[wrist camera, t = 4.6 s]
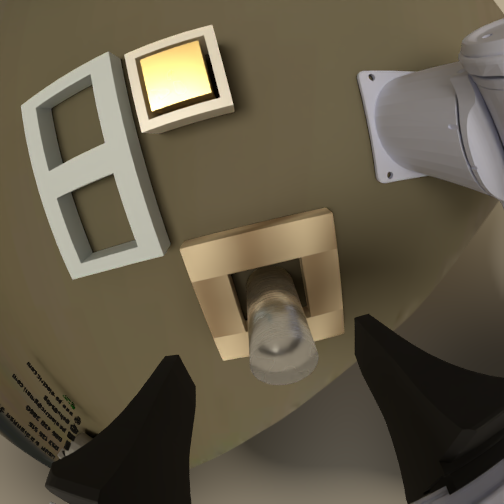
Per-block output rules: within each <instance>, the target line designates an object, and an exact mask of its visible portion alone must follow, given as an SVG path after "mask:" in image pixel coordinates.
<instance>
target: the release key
mask: <svg viewBox="0 0 504 504" xmlns="http://www.w3.org/2000/svg"><path fill="white" fill-rule="evenodd" d="M140 62H141V67H142V71H143V76H144V80H145V85H146V89H147V93H148V98H149V102H150V106H151V110H152V112H155V113H159V114H162V115H164V114H167V113H170V112H173V111H176V110H179V109H182V108H185V107H189V106H192V105H195V104H199V103H202V102H206V101H210V100H213V99H216V97H215V93H214V90H213V86H212V82H211V78H210V74H209V70H208V66H207V62H206V59H205V55H204V53H203V51H202V48H201V46H200V43H199V41H194V42H191V43H187V44H184V45H181V46H178V47H174V48H171V49H168V50H166V51H163V52H160V53H157V54H154V55H152V56H149V57H146V58H144V59H141V60H140Z"/></svg>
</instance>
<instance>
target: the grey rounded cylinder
mask: <svg viewBox="0 0 504 504" xmlns="http://www.w3.org/2000/svg"><path fill="white" fill-rule="evenodd" d="M246 297H247V317H248V337H249V356H250V369H251V371H252V373H253V375H254V376H255V377H256V378H257V379H259V380H260V381H262V382H265V383H268V384H272V385H286V384H291V383H295V382H297V381H300V380H302V379H303V378H305V377H306V376H308V375H309V374H310V373H311V372H312V371H313V370H314V369H315V367H316V365H317V362H318V352H317V349H316V346H315V343H314V340H313V337H312V334H311V331H310V328H309V325H308V323H307V320H306V317H305V314H304V311H303V308H302V305H301V303H300V300H299V297H298V294H297V291H296V288H295V286H294V283H293V280H292V278H291V276H290V274H289V273H288V272H287V271H286V270H285V269H283V268H281V267H278V266H273V265H269V266H263V267H261V268H258V269H257V270H255V271H254V272H253V273H252V274H251V275H250V276H249V278H248V280H247V283H246Z"/></svg>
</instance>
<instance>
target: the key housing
mask: <svg viewBox="0 0 504 504" xmlns="http://www.w3.org/2000/svg"><path fill="white" fill-rule="evenodd" d="M194 41H199V43H200V46H201V48H202V51H203V53H204V55H207V54H209V56H210V60H211V64H212V67H213V71H214V75H215V79H216V83H217V87H218V91H219V94H220V98H217V99H213V100H210V101H206V102H202V103H199V104H195V105H192V106H189V107H185V108H182V109H179V110H176V111H173V112H170V113H167V114H164V115H162V114H159V113H155V112H152V110H151V106H150V102H149V98H148V93H147V89H146V85H145V80H144V76H143V71H142V67H141V62H140V60H141V59H144V58H146V57H149V56H152V55H154V54H157V53H160V52H163V51H166V50H168V49H171V48H174V47H178V46H181V45H184V44H187V43H191V42H194ZM124 55H125V61H126V66H127V71H128V76H129V80H130V85H131V90H132V94H133V99H134V103H135V107H136V112H137V116H138V120H139V124H140V128H141V132H142V133H154V134H161V133H163V132H166V131H169V130H172V129H175V128H179V127H182V126H185V125H188V124H192V123H195V122H198V121H202V120H205V119H209V118H213V117H216V116H220V115H224V114H228V113H232V112H235V111H234V105H233V101H232V97H231V93H230V90H229V86H228V82H227V78H226V74H225V70H224V67H223V63H222V59H221V55H220V52H219V48H218V44H217V41H216V37H215V33H214V30H213V26H212V25H209V26H205V27H202V28H198V29H194V30H191V31H187V32H184V33H181V34H177V35H174V36H171V37H168V38H165V39H162V40H160V41H157V42H154V43H151V44H149V45H146V46H143V47H141V48H138V49H136V50H134V51H131V52H129V53H127V54H124Z"/></svg>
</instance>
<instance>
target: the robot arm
mask: <svg viewBox="0 0 504 504" xmlns="http://www.w3.org/2000/svg"><path fill="white" fill-rule="evenodd" d="M458 59H459V61H458V62H454V63H449V64H445V65H440V66H436V67H432V68H428V69H425V70H421V71H417V72H411V71H361V72H359V73H358V74H357V80H358V84H359V88H360V92H361V96H362V101H363V105H364V110H365V114H366V119H367V124H368V129H369V135H370V140H371V146H372V152H373V159H374V166H375V173H376V178H377V180H378V181H379V182H381V183H389V182H394V181H400V180H406V179H411V178H417V177H423V176H432V177H436V178H439V179H442V180H446V181H449V182H452V183H455V184H458V185H461V186H464V187H467V188H470V189H473V190H476V191H479V192H482V193H484V194H487V195H490V196H493V197H495V198H496V199H498V200H499V201H500V202H501V203H502V205H503V208H504V18H503V19H500V20H497V21H494V22H492V23H489V24H487V25H485V26H483V27H481V28H479V29H477V30H475V31H473V32H472V33H470V34H469V35H467V36H466V37H465V38H464V39H463V41H462V45H461V51H460V53H459V56H458ZM369 75H371V76H372V78H373V80H372V81H371V80H370V79H369ZM388 172H390V174H391V175H390V177H389V178H388V177H387V173H388ZM355 356H356V359H357V362H358V364H359V367H360V369H361V372H362V375H363V377H364V379H365V381H366V383H367V385H368V387H369V388H370V390H371V392H372V394H373V396H374V398H375V400H376V402H377V404H378V406H379V408H380V410H381V412H382V414H383V416H384V419H385V421H386V424H387V427H388V430H389V432H390V435H391V438H392V441H393V445H394V448H395V452H396V455H397V459H398V462H399V466H400V470H401V474H402V479H403V484H404V489H405V495H406V500H407V503H408V504H504V378H501V377H494V376H489V375H485V374H481V373H477V372H473V371H470V370H466V369H464V368H460V367H458V366H455V365H452V364H450V363H448V362H445V361H443V360H441V359H439V358H437V357H434V356H432V355H430V354H428V353H426V352H425V351H423V350H421V349H420V348H418V347H416V346H414V345H413V344H411V343H410V342H408V341H407V340H405V339H404V338H402V337H400V336H399V335H397V334H396V333H395V332H393V331H392V330H390V329H389V328H388V327H386V326H385V325H383V324H382V323H381V322H379V321H378V320H377V319H375V318H374V317H372V316H371V315H369V314H366V315H363V316H359V317H356V318H355ZM195 407H196V386H195V384H194V383H193V381H192V379H191V377H190V375H189V374H188V372H187V370H186V368H185V366H184V364H183V362H182V360H181V358H180V357H179V355H172V356H165V357H164V359H163V360H162V361H161V363H160V364H159V365H158V367H157V368H156V369H155V371H154V372H153V374H152V375H151V376H150V378H149V379H148V380H147V382H146V383H145V384H144V386H143V387H142V388H141V390H140V391H139V392H138V394H137V395H136V396H135V397H134V398H133V400H132V401H131V402H130V403H129V404H128V406H127V407H126V408H125V409H124V410H123V411H122V413H121V414H120V415H119V416H118V417H117V418H116V419H115V420H114V421H113V422H112V423H111V424H110V425H109V426H108V427H106V428H105V429H104V430H103V431H102V432H100V433H99V434H98V435H97V436H96V437H94V438H93V439H92V440H91V441H89V442H88V443H86V444H85V445H84V446H82V447H81V448H79V449H77V450H76V451H74V452H73V453H71V454H69V455H67V456H65V457H63V458H61V459H60V460H58V461H56V462H53V463H52V466H51V469H50V472H49V474H48V477H47V481H46V483H45V487H46V488H47V489H48V490H49V491H50V492H51V493H53V494H54V495H56V496H58V497H59V498H61V499H62V500H64V501H66V502H68V503H69V504H191V497H190V480H189V454H190V445H191V437H192V430H193V423H194V415H195ZM49 504H55V503H53V502H50V503H49Z"/></svg>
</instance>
